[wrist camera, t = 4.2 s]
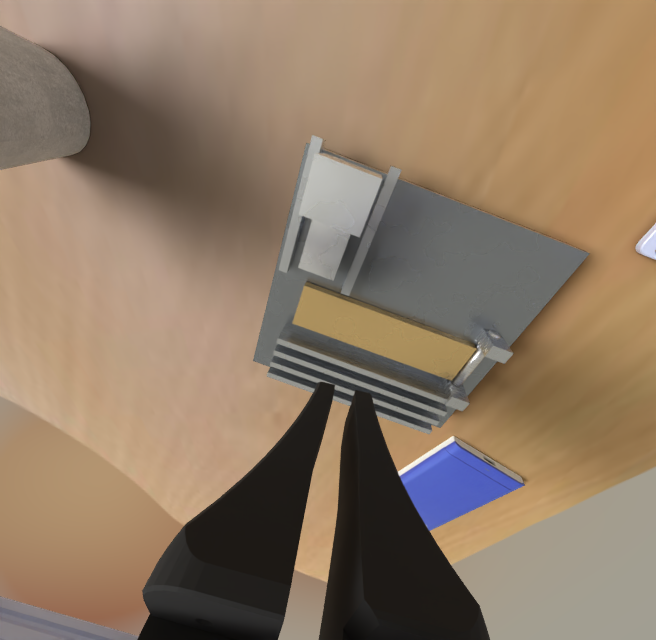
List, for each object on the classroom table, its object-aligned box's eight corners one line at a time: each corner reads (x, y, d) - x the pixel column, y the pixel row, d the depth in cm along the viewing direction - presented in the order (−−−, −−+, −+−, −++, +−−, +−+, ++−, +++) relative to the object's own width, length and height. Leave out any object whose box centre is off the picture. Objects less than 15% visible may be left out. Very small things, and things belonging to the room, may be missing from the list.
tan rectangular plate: (473, 343, 18) (476, 348, 17) (449, 374, 19) (451, 380, 18) (306, 281, 17) (304, 285, 17) (294, 318, 18) (292, 323, 18)
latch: (381, 174, 14) (382, 178, 11) (343, 272, 17) (336, 295, 14) (327, 153, 14) (315, 152, 11) (298, 256, 16) (282, 275, 14)
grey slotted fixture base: (571, 236, 16) (623, 257, 12) (435, 407, 23) (444, 448, 20) (316, 136, 15) (299, 130, 12) (262, 345, 23) (243, 377, 19)
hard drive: (427, 534, 31) (526, 488, 25) (366, 502, 30) (456, 445, 24) (425, 518, 32) (518, 471, 26) (367, 487, 31) (451, 430, 25)
